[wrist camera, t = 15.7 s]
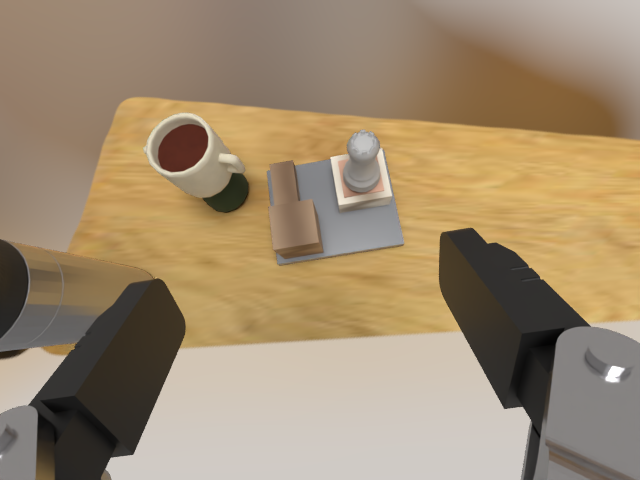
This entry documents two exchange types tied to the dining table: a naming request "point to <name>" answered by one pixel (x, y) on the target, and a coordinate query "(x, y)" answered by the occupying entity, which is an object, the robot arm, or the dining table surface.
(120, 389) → the robot arm
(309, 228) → the walnut castle blocks
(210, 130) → the character mug
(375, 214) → the baseplate
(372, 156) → the rook chess piece
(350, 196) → the white square block
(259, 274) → the dining table surface
